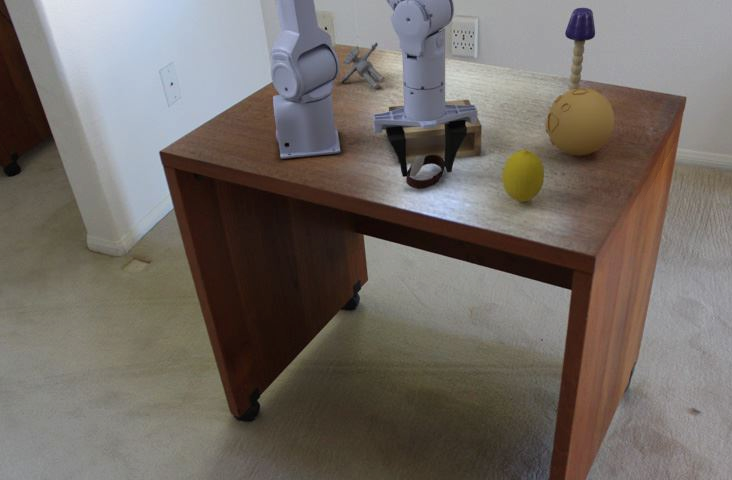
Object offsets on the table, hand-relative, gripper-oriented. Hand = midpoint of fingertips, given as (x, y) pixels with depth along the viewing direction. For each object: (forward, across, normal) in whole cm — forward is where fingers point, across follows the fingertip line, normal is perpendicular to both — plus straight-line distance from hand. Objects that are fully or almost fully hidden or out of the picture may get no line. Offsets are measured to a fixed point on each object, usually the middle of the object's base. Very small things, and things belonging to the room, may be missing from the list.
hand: (426, 171), depth 110 cm
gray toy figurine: (+2, -5, +40) cm, 40 cm away
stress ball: (+2, +24, +4) cm, 24 cm away
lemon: (+2, +12, -9) cm, 15 cm away
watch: (+2, 0, 0) cm, 2 cm away
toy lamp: (+2, +28, +19) cm, 34 cm away
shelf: (+1, +3, +11) cm, 11 cm away
